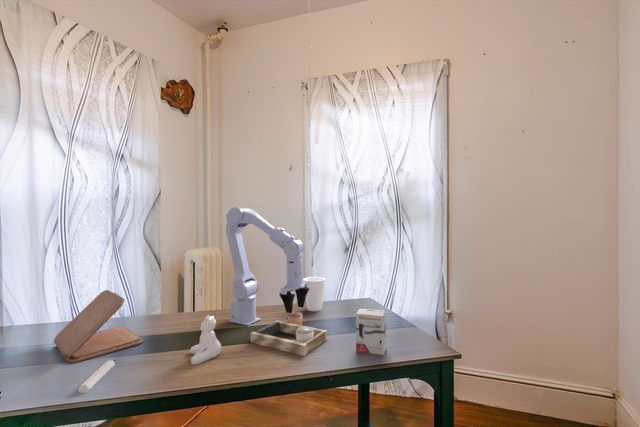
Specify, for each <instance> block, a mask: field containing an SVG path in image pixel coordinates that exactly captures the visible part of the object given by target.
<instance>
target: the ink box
mask: <svg viewBox="0 0 640 427" xmlns="http://www.w3.org/2000/svg"><path fill="white" fill-rule="evenodd" d="M386 313H387V312H386V311H385V310H383V309H382V310H381V309H370V308H359V309H358V310H357V311H356V313H355V352H356V353H364V354H365V353H366V354H371V355H379V356H385V353H386V349H387V321H386V320H387V314H386Z"/></svg>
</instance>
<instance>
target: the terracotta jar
mask: <svg viewBox="0 0 640 427" xmlns="http://www.w3.org/2000/svg"><path fill="white" fill-rule="evenodd" d="M286 318H287V323H292V324H297V325H302V326H304V325H303V324H304V323H303V312H301V311H296V310H292V313H287V316H286Z"/></svg>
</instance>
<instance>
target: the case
mask: <svg viewBox="0 0 640 427" xmlns="http://www.w3.org/2000/svg"><path fill="white" fill-rule="evenodd" d="M124 303H125V298H124V297H122V296H121V295H119V294H118V293H116V292H112V291H110V290H108V289H106V290H103V291H101V292H100V293H99V294H98V295H96V297H95V298H94V299H92V300H91V302H89V303H88V305H87V306H85V308H84V309H82V310H81V311H80V312H79V313H78V314H77V315H76V316H75V317H74V318H73V319H72V320H71V321H70V322H68V324H67V325H65V327H63V328H62V329H61V331H60V332H58V333H57V334H56V335H55V337H54V338H53V343H54V344H55V345H56V348H57V349H58V351H59V352H60V353H61V355H62V356H63V357H64V358H65V360H66V361H67V363H70V364H74V363H78V362H82V361H87V360H89V359H92V358H96V357H101V356H103V355H107V354H110V353H114V352H117V351H120V350H124V349H128V348H131V347H134V346H138V345H141V344H142V343H143V342H144V339H143V338H142V337H140V336H139V335H137V334H136V333H134V332H133V331H131V330H130V329H129V328H127V327H125V326H118V327H117V326H116V327H112V328H109V329H105V330H100V328H102V327H103V326H104V325H105V324H106V323H108V320H109V319H110V318H112V317H113V316H114V315H115V314H116V312H117V311H119V309H121V308H122V306H123V305H124ZM99 330H100V331H99Z"/></svg>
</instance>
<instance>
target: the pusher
mask: <svg viewBox="0 0 640 427" xmlns="http://www.w3.org/2000/svg"><path fill="white" fill-rule="evenodd" d="M276 321H277V322H275V321H274V322H273V323H271V324H268V325H267V326H264V327H261V328H260V329H258V330H257V331H256V332H257V333H262V334H266V335H270V336H274V335H277V334H278V333H280V332H281V331H280V322H278V321H279V320H276Z"/></svg>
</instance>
